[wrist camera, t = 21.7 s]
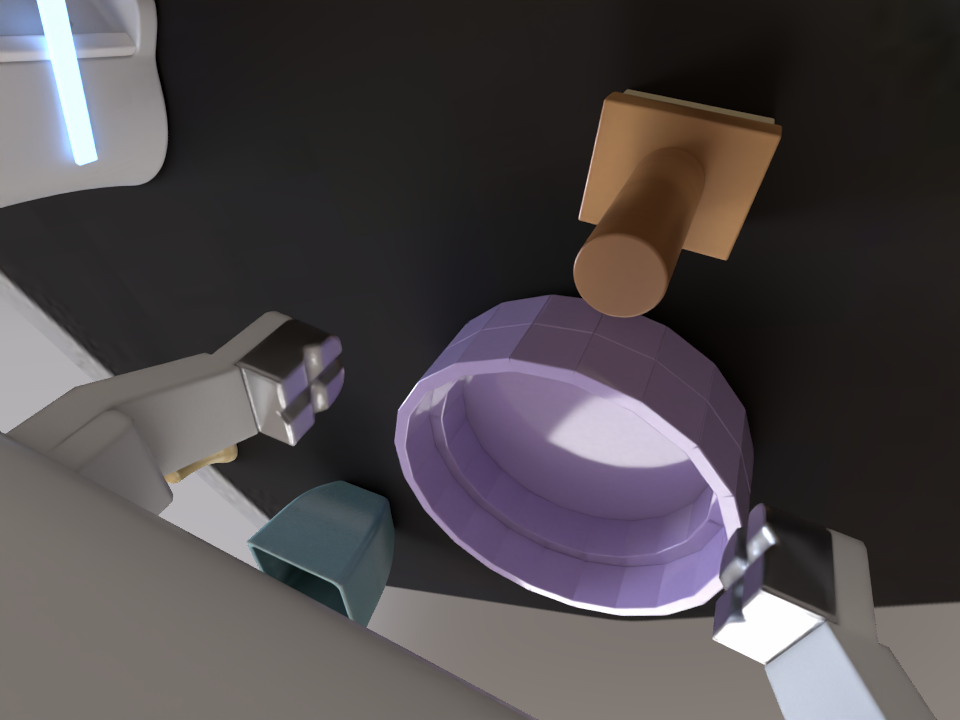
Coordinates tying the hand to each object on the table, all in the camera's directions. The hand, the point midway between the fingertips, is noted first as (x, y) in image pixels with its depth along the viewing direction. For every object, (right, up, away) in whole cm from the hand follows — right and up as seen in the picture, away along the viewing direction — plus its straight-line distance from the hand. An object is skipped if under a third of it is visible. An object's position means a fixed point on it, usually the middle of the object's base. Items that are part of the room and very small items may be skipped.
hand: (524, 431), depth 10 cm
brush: (+7, +9, +10) cm, 15 cm away
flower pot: (-11, -11, +38) cm, 41 cm away
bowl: (+5, -2, +21) cm, 21 cm away
